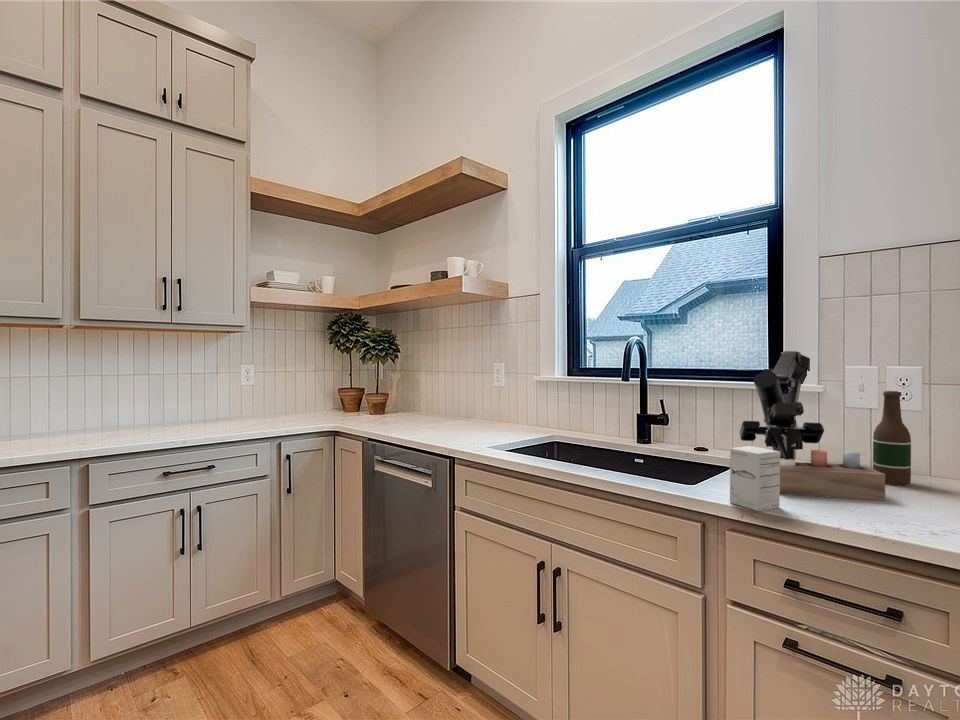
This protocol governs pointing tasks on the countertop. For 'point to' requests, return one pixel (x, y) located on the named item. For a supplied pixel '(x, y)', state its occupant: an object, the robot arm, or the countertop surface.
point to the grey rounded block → (851, 460)
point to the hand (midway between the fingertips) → (787, 458)
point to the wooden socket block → (832, 481)
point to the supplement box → (755, 477)
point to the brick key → (818, 458)
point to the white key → (787, 462)
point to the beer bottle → (892, 443)
